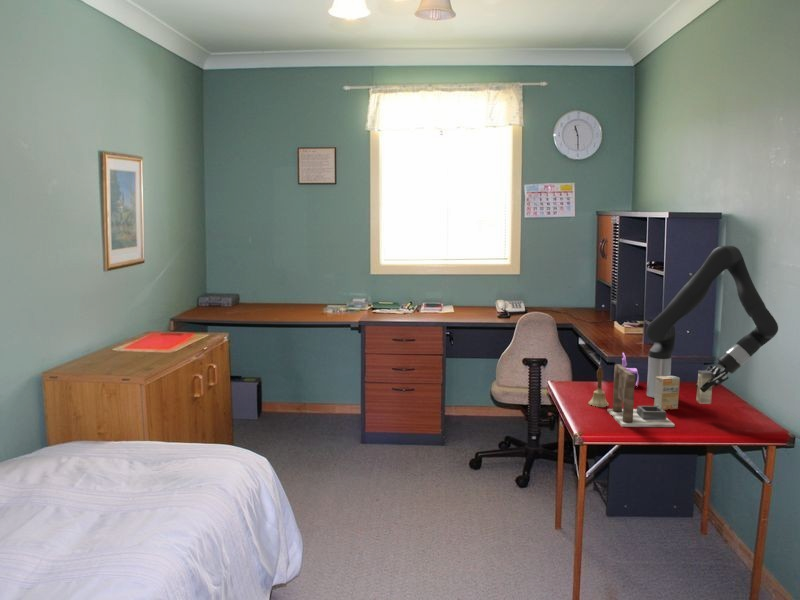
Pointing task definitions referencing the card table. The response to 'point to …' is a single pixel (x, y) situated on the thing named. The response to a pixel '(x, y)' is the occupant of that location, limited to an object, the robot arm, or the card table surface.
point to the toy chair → (632, 370)
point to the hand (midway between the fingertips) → (699, 388)
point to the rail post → (702, 379)
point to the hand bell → (599, 392)
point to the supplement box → (667, 392)
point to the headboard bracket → (628, 415)
